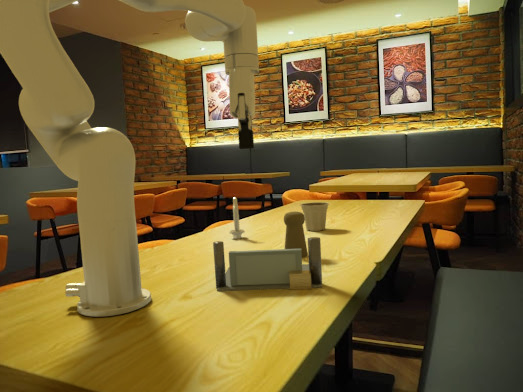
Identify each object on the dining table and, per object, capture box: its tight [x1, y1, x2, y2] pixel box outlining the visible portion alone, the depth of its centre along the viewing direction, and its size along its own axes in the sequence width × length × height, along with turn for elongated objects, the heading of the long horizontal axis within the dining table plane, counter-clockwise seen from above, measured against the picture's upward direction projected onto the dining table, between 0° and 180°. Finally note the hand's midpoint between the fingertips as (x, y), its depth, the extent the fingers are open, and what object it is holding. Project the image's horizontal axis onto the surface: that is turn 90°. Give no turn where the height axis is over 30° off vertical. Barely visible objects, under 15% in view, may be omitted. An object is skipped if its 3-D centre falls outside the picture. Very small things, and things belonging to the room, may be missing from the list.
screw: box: [229, 196, 245, 240], centre depth 132 cm, size 13×5×5 cm
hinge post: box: [212, 240, 226, 289], centre depth 83 cm, size 2×2×9 cm
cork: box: [283, 211, 308, 259], centre depth 105 cm, size 6×6×11 cm
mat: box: [216, 263, 323, 292], centre depth 88 cm, size 20×16×1 cm
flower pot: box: [300, 201, 330, 232], centre depth 140 cm, size 9×9×9 cm
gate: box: [228, 248, 303, 286], centre depth 82 cm, size 14×1×6 cm, turn 86°
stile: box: [289, 236, 323, 291], centre depth 81 cm, size 6×4×9 cm, turn 86°
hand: (246, 148), depth 96 cm, fingers closed
